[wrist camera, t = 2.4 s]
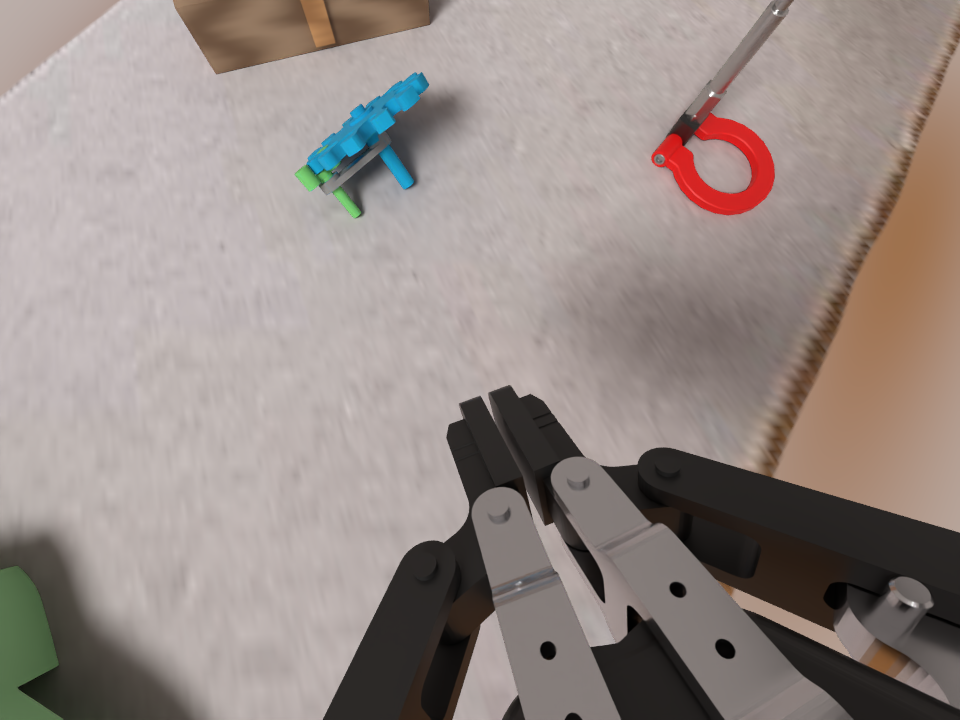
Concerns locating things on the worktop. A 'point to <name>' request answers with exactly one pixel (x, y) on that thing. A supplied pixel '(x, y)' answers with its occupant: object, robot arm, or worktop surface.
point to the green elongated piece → (22, 646)
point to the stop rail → (290, 26)
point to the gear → (363, 142)
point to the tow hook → (723, 130)
